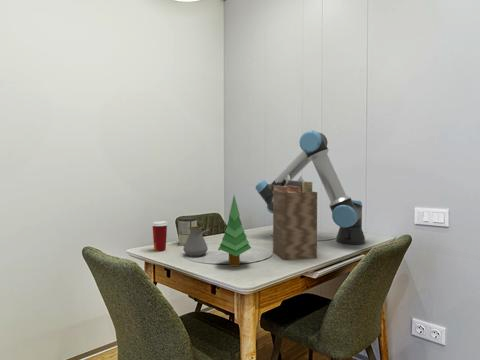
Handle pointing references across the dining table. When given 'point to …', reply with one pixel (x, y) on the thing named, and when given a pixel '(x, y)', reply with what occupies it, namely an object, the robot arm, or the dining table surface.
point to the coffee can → (185, 228)
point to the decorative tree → (234, 237)
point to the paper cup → (159, 235)
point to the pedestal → (294, 223)
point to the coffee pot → (197, 241)
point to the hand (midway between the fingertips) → (295, 177)
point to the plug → (302, 185)
